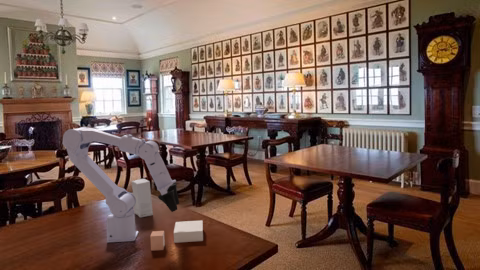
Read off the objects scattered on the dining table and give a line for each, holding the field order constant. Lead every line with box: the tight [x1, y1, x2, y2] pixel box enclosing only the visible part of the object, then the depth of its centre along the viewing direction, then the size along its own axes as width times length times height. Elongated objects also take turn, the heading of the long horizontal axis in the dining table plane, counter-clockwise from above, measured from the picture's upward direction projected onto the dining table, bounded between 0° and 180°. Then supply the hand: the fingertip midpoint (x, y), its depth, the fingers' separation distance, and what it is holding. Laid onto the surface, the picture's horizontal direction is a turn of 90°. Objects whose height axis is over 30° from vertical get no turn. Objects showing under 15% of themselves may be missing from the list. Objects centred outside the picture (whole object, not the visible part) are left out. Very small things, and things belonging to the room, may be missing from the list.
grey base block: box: [173, 220, 204, 244], centre depth 123 cm, size 10×10×4 cm
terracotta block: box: [150, 230, 166, 251], centre depth 114 cm, size 4×4×5 cm
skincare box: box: [131, 178, 154, 218], centre depth 146 cm, size 8×6×15 cm
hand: (175, 207), depth 121 cm, fingers open, 7 cm apart
